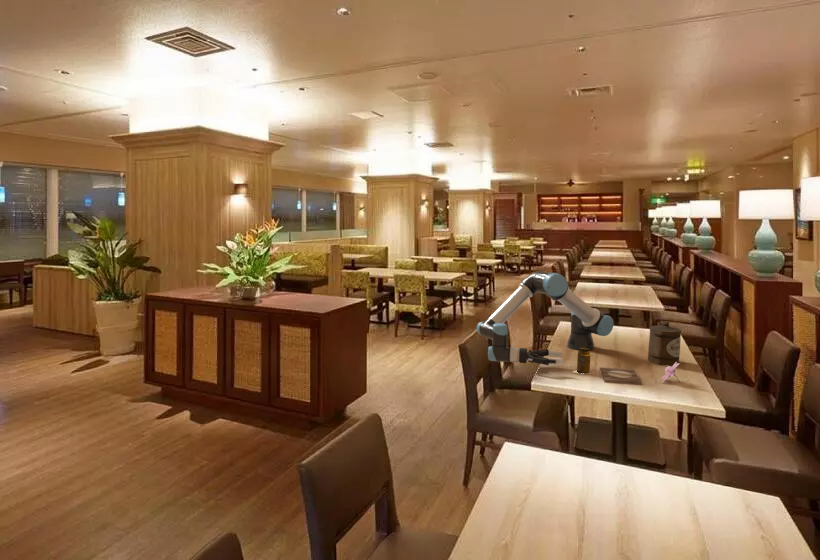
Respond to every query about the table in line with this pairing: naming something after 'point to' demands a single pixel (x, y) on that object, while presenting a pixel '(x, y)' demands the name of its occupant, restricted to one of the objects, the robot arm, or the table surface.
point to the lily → (670, 371)
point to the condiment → (583, 361)
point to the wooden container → (664, 344)
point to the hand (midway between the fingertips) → (562, 357)
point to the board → (620, 375)
